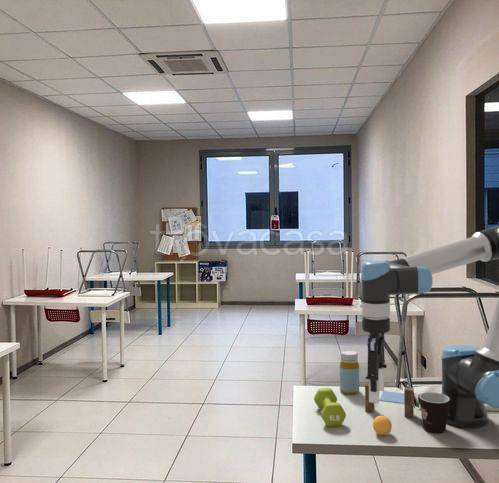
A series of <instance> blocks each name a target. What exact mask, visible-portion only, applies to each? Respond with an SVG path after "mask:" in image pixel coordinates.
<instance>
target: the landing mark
mask: <svg viewBox="0 0 499 483" xmlns="http://www.w3.org/2000/svg"><path fill="white" fill-rule="evenodd" d="M380 401H381V402H387V403H388V402H389V403H395V404H396V403H397V404H404V392H395V391H387V390H384V391H382V394H381V396H380V397H379V402H380Z"/></svg>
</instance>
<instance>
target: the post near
mask: <svg viewBox="0 0 499 483" xmlns="http://www.w3.org/2000/svg"><path fill="white" fill-rule="evenodd" d="M403 389H404V392H403V393H404V405H403V406H404V417H405V418H409V419H410V418H411V419H413V418H414V415H415V413H414V412H415V411H414V408H415V407H414V404H415V403H414V397H415V396H414V390H415V389H414V387H408V386H405V387H404V388H403Z"/></svg>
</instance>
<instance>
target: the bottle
mask: <svg viewBox="0 0 499 483" xmlns="http://www.w3.org/2000/svg"><path fill="white" fill-rule="evenodd" d="M358 359H359V358H358V351H356V350H353V349H344V350H341V351H340V362H339V391H340V393H341V394H342V395H346V396H355V395H358V393H359V392H360V364H359V362H358V361H359V360H358Z"/></svg>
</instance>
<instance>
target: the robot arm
mask: <svg viewBox="0 0 499 483" xmlns="http://www.w3.org/2000/svg"><path fill="white" fill-rule="evenodd" d="M493 260H499V225H496V226H492V227H489V228H487V229H483V230H480V231H476V232H474V233H473V234H472V235H471V237H467V238H465V239H461V240H458V241H454V242H451V243H448V244H445V245H444V244H443V245H442V246H441V245H440V246H437V247H434V248H432V249H428V250H424V251H420V252H418V253H415V254H410V255H408V256H404V257H401V258H398V259H393V260H391V261H390V260H369V261H365V262H363V263H362V265H361V272H360V273H361V278H360V280H361V301H362V302H361V304H360V305H359V308H362V311H361V315H362V318H361V329H362V331H363V332H365V333H369V334H370V335H369V337H368V338H367V344H366V345H367V376H365V380H368V383H369V402H372V403H374V404H380V392H383V391H385V369H387V364H386V360H385V357H386V356H385V333H389V332H390V330H391V318H389V317H390V316H391V302H390V301H391V299H390V298H391V295H392V296H394V295H411V294H413V295H414V294H415V295H416V294H417V295H419V294H425V293H428V292H430V291H431V289H432V288H433V275H435V274H438V273H442V272H444V271H445V272H446V271H449V270H451V269H455V268H458V267H459V268H460V267H461V266H464V265H468V264H472V263H474V262H479V261H481V262H483V263H484V262H489V261H493ZM441 394H444V395H446V396H448V397H449V407H448V415H447V423H446V424H448V425H450V426H451V425H452V426H454V427H455V426H456V427H460V428H469V429H470V428H471V429H472V428H479V427H483V426H486V424H487V423H488V419H489V416H488V411H487V408H486V406H485V405H487V406H489V407H492V408H496V409H499V297H498V299H497V302H496V306H495V309H494V311H493V315H492V317H491V321H490V325H489V327H488V330H487V333H486V336H485V339H484V343H483V346H482V347H478V346H473V345H450V346H446V347H444V348H443V349H442V352H441Z"/></svg>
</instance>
